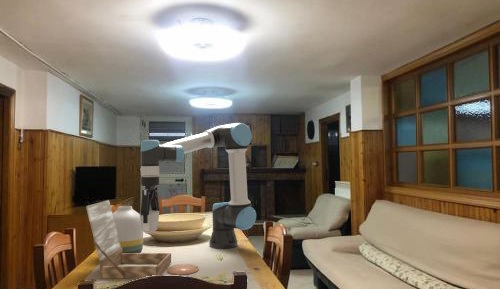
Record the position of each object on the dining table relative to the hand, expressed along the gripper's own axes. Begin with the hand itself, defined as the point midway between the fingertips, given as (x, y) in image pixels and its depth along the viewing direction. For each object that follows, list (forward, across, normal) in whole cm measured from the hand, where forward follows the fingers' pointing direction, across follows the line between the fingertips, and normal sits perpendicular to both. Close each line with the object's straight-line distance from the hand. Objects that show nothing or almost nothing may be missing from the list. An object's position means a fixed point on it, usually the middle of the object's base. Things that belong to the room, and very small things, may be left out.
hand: (150, 228), depth 160 cm
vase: (+18, -22, -19) cm, 34 cm away
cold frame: (+17, 0, -5) cm, 18 cm away
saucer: (+17, 0, +14) cm, 22 cm away
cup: (+1, 0, 0) cm, 1 cm away
